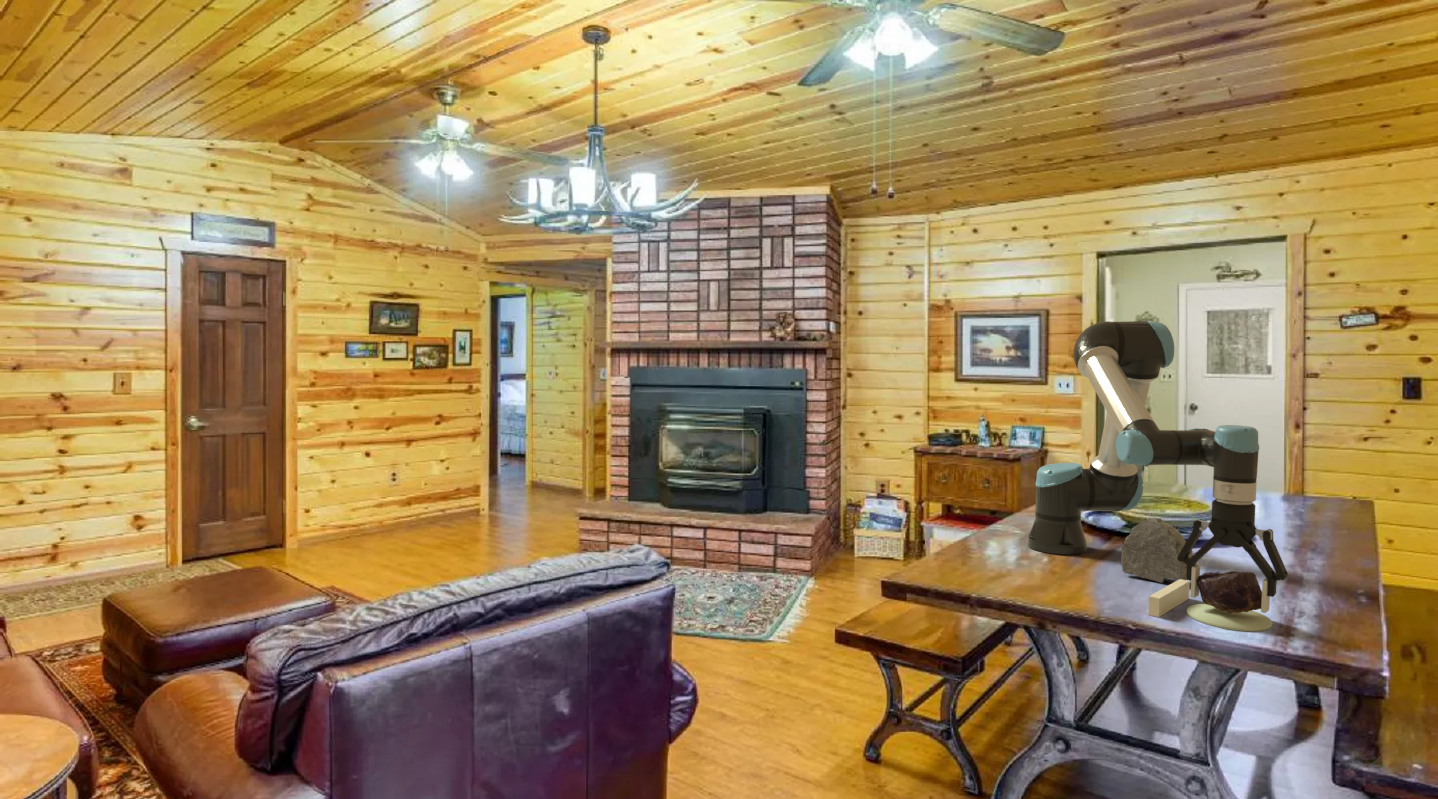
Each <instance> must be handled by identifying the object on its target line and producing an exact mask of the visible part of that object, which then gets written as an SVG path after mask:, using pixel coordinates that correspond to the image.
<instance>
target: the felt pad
mask: <svg viewBox="0 0 1438 799" xmlns="http://www.w3.org/2000/svg"><path fill="white" fill-rule="evenodd" d="M1186 614H1187V616H1188V617H1190V618H1191V619H1193V620H1195V621H1196V622H1199V623H1201V624H1205V625H1208V626H1211V627H1215V628H1218V629H1224V630H1229V631H1230V630H1231V631H1238V632H1264V631H1267V630H1269V629H1271V628H1272V627H1273V621H1272V619H1271V618H1270V617H1268V616H1266V615H1265V614H1264V613H1260V612H1258V611H1256V610H1252V611H1249V612H1241V613H1228V612H1226V611H1219V610H1217V609H1216V608H1214V607H1213V606H1211V605H1207V604H1204V603H1197V604H1196V603H1195V604H1192V605H1189V606H1188V607H1187V608H1186Z"/></svg>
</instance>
